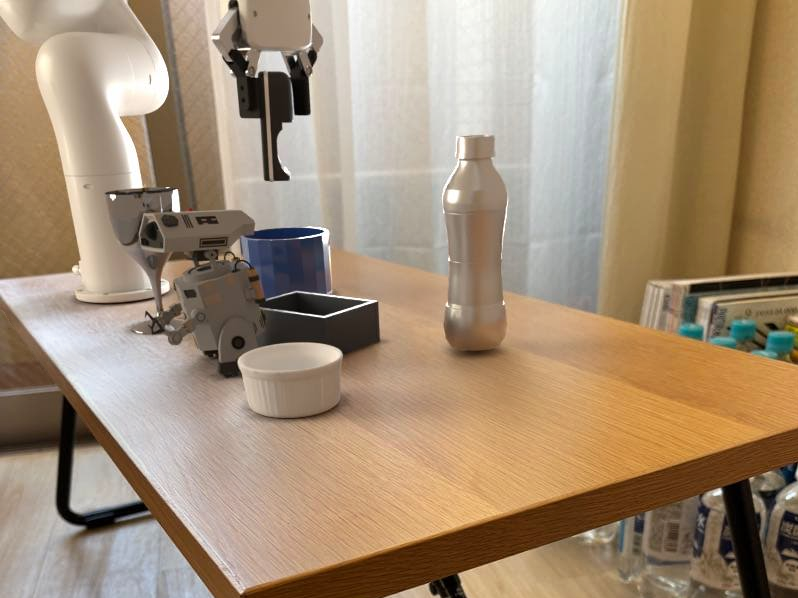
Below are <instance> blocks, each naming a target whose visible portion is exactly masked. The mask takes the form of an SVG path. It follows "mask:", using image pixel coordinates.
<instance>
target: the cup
mask: <svg viewBox="0 0 798 598" xmlns="http://www.w3.org/2000/svg"><path fill="white" fill-rule="evenodd" d="M238 240H239V248H240V256H241V257H240V258H241V260H246V261H247V262H249V263H250V265H251V267H256V269H257V272H258V274H259V278H260V283H261V286H262V290H263V293H264V296H265V298H266V299H269V298H272V297H276V296H280V295H283V294H287V293H290V292H294V291H301V292H309V293H317V294H325V295H334V294H333V289H334V287H333V275H332V273H333V272H332V261H331V260H332V259H331V249H330V248H331V246H330V243H331V242H330V231H329V230H328V229H326V228H322V227H316V226H314V227H313V226H283V227H282V226H281V227H280V226H279V227H269V228H262V229H254V235H244V236H241V237H240V238H239V239H238ZM241 263H243V264H244V265H246V266H247V267H248V268H250V267H249V265H248V264H247V263H246V262H241Z"/></svg>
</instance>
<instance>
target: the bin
mask: <svg viewBox="0 0 798 598" xmlns="http://www.w3.org/2000/svg"><path fill="white" fill-rule="evenodd" d="M259 307H260V309H261V308H262V309H263V310H264V313H265V317H266V320H267V323H268V324H267V325H265V328H266V330H265V331H264V332H263V333H261V334H260V335H259V336H257V337H256V340H257V344H258V348H260V347H265V346H269V345H275V344H283V343H319V344H326V345H330V346H333V347H336V348H338V349H339V350H340V351H341V352H342V354H343V356H344V355H347V354H350V353H353V352H355V351H358V350H361V349H363V348H366V347H368V346H372V345H374V344H377V343H380V342H381V330H380V312H379V311H380V309H379V301H378V300H373V299H364V298H358V297H357V298H356V297H349V296H340V295H334V294H332V295H325V294H317V293H309V292H301V291H294V292H290V293H287V294H283V295H280V296H276V297H272V298H269V299H266V301H265V302H263V303H259Z"/></svg>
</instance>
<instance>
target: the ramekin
mask: <svg viewBox="0 0 798 598" xmlns="http://www.w3.org/2000/svg"><path fill="white" fill-rule="evenodd" d="M343 356H344V355H343V354H342V352H341V351H340V350H339V349H338V348H336V347H333V346H330V345H326V344H319V343H283V344H275V345H269V346H265V347H260V348H257V349H254V350H251V351H248V352H246V353H245V354H243V355H242V356H241V357H240V358H239V359H238V366H239V369H240V371H241V372H240V373H241V376H242V382H243V386H244V387H243V388H244V391H245V396H246V401H247V404H248V407H249V408H250V409H251V411H253V412H254V413H256V414H259V415H261V416H264V417H268V418H273V419H274V418H276V419H297V418H305V417H306V418H307V417H312V416H315V415H320V414H322V413H326V412H328V411H329V410H332V409H333V408H334V407H336V406H337V405H338V404H339V402H340V401H341V394H342V393H341V387H342V385H341V384H342V383H341V382H342V381H341V379H342V378H341V377H342V364H343V358H344V357H343Z"/></svg>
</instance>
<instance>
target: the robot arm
mask: <svg viewBox="0 0 798 598" xmlns="http://www.w3.org/2000/svg"><path fill="white" fill-rule="evenodd" d="M218 2H219V3H218V4H219V19H220V22H219V23H218V25H217V26H216V28H215V29H214V31H213V32H212V34H211V41H212V43H213V45H214V46H215V48H216V49H217V52H219V54H221V59H222V60H223V62H224V63H225V64H226V66H227V67H228V68H229V71H230V75H231V77H232V78H234V79H235V81H236V92H237V101H238V102H237V103H238V114H239V117H240V118H241V119H255V120H257V119H258V120H260V118H262V117H263V102H262V89H261V80H260V78H258V77H256V76H257V75H256V74H257V70H258V66H259V63H260V58H261V55H262V52H265V53H266V52H267V53H269V52H270V53H271V52H274V53H276V52H279V53H280V54H281V57H282V60H283V62H284V64H285V68H286V70H287V72H288V76H289V78H290V80H291V85H292V92H293V104H294V117H295V116H299V117H302V116H303V117H308V116H311V114H312V109H311V92H310V91H311V90H310V77H312V76H313V73H314V69H313V68H314V65H315V64H316V61H317V60H318V55H319V53H320V50H321V49H322V46H323V44H324V37H323V36H322V34H321V33H320V31H319V30H318V29H317V28H316V26H315V25H314V23H313V20H312V7H311V0H218ZM0 17H1V19H2V20H3V21H4V23H5V24H6V25H7V27H8V28H9V29H10V30H11V32H13V33H14V34H15V35H16V36H17V37H18V38H20V39H21V40H22V41H25V42H28V43H31V44H37V45H41V46H40V48H38V52H37V54H36V57H35V69H34V70H35V76H36V78H35V79H36V83H37V85H38V89H39V92H40V95H41V97H42V100H43V103H44V105H45V108H46V110H47V113H48V116H49V119H50V122H51V125H52V128H53V131H54V135H55V139H56V144H57V148H58V151H59V156H60V161H61V166H62V172H63V175H64V180H65V185H66V192H67V195H68V202H69V207H70V213H71V216H72V222H73V227H74V233H75V238H76V242H77V248H78V254H79V258H80V260H78V264H75V265H73V266H72V268H71V271H72V273H73V274H74V275H75V276H81V281H82V285H80V286H78V287H75V289H74V293H75V294H74V295H75V299H77V300H78V301H81V302H85V303H93V304H114V303H115V304H116V303H125V302H126V303H128V302H135V301H136V302H137V301H142V300H147V299H151V298H154V294H153V290H152V286H151V283H150V280H149V278H148V276H147V274H146V272H145V271H144V270H143V268H142V267H141V266H140V265H139V264H138V263H137V262H136V261H135V260H134V259H133V258H132V257H131V256H129V255H128V254H127V253H126V252H125V251H124V250H123V248H122V247H121V246H120V244H119V242H118V241H117V239H116V236H115V234H114V231H113V229H112V226H111V222H110V219H109V215H108V211H107V206H106V200H105V193H106V192H109V191H115V190H123V189H133V188H144V187H143V181H142V175H141V170H140V164H139V159H138V154H137V151H136V147H135V145H134V142H133V140H132V137H131V136H130V134H129V132H128V131H127V128H126V127H125V125H124V123H123V122H122V119H121V118H120V117H132V116H143V115H148V114H150V113H153V112H155V111H157V110H158V109H159V108H160V107H162V105H163V104H164V103H165V101H166V99H167V97H168V93H169V87H170V81H169V80H170V79H169V73H168V68H167V65H166V63H165V60H164V58H163V55H162V54H161V52H160V49H159V48H158V46H157V45H156V43H155V42H154V40H153V39H152V37H151V35H150V34H149V33H148V32H147V30H146V29H145V27H144V26H143V24H142V23H141V21H140V20H139V18H138V17H137V15H136V14H135V13H134V11H133V10H132V8H131V7H130V6H129V4H128V3H127V2H126V0H0ZM295 56H296V59H295ZM246 57H247V58H246ZM170 289H171V288H170V282H169V281H168V280H167V279H164V278H161V296H162V295H165V294H167V293H168V292H170Z"/></svg>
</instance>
